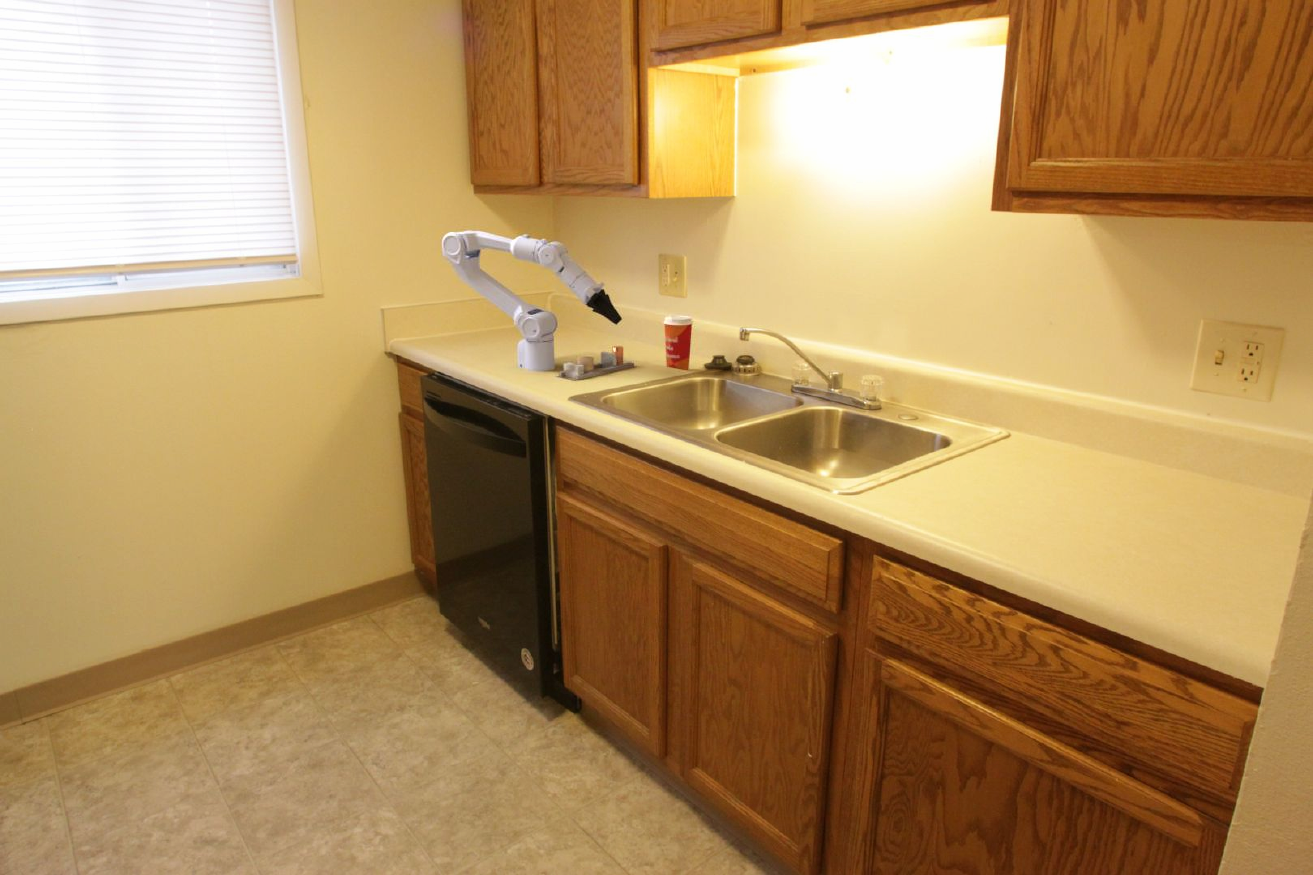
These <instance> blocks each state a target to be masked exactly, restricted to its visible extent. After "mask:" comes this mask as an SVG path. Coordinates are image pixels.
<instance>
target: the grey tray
mask: <svg viewBox="0 0 1313 875" xmlns="http://www.w3.org/2000/svg"><path fill="white" fill-rule="evenodd" d="M637 367H638V366H637V365H635V363H634V362H632V363H628V364H624V365H619V366H615V367H610V368H601V362H599V363H594V371H593V372H588V373H584V365H579V364H577V363H574V362H567V363H566V362H565V363H563V370H561V371H558V375H555V378H559V379H560V378H561V379H564V380H567V381H568V380H569V381H573V382H577V381H581V380H586V379H589V378H594V377H598V376H603V375H607V374H613V373H615V372H620V371H624V370H628V369H629V370H630V369H633V368H637Z"/></svg>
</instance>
